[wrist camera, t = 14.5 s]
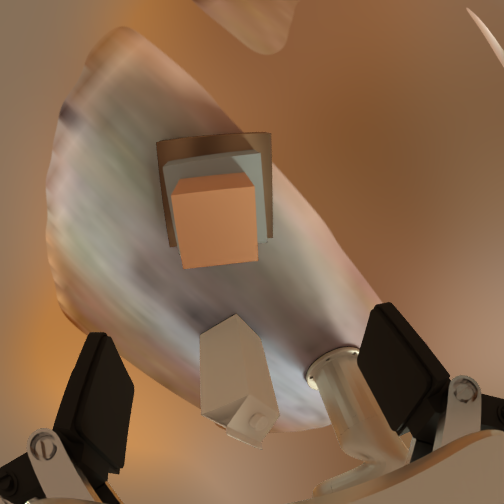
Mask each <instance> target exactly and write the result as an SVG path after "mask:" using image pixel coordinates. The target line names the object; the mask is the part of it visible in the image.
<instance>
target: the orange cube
mask: <svg viewBox="0 0 504 504" xmlns="http://www.w3.org/2000/svg"><path fill="white" fill-rule="evenodd" d="M171 199H172V206H173V213H174V219H175V225H176V231H177V237H178V243H179V249H180V254H181V260H182V265H183V269H188V268H198V267H207V266H216V265H225V264H233V263H242V262H251V261H258V242H257V222H256V202H255V186H254V185H253V183H252V182H251V180H250V179H249V177H248V176H247V175H246V173H245V172H241V173H230V174H219V175H210V176H201V177H192V178H184V179H179V181H178V183H177V185H176V187H175V189H174V191H173V192H172V194H171Z"/></svg>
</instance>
